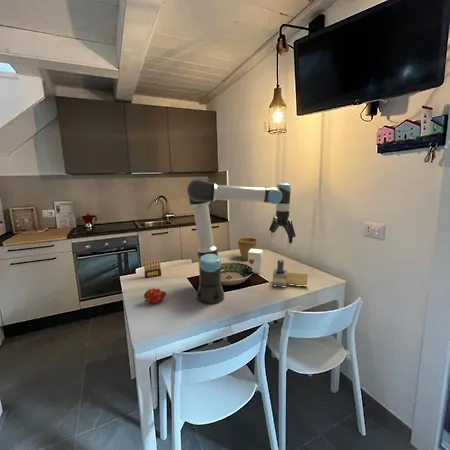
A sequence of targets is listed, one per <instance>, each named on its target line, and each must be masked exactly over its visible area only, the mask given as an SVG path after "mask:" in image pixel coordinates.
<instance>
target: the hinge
mask: <svg viewBox="0 0 450 450" xmlns="http://www.w3.org/2000/svg"><path fill="white" fill-rule="evenodd" d="M286 284H294V285H307V286H308V273H301V272H299V273H298V272H289V271H288V270H287V269H283V274H282V273H277V268H274V269H273V272H272V286H273V285H276V286H275V287H277V286H286V287H287V285H286Z"/></svg>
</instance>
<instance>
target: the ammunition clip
mask: <svg viewBox="0 0 450 450" xmlns="http://www.w3.org/2000/svg"><path fill="white" fill-rule="evenodd" d="M143 263H144V266H143V267H144V268H143V269H144V279H145V278H146V279H152V278H156V277H162V271H161V270H162V269H161V261H160V258H158V260H157V258H155V259H154V258H153V259H150V260H147V261H146V260H144V262H143Z"/></svg>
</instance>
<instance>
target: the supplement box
mask: <svg viewBox="0 0 450 450" xmlns="http://www.w3.org/2000/svg"><path fill="white" fill-rule="evenodd" d="M263 254H264V249H259V248H255V249H250V250H249V252H248V261H247V267H248V266H250V267H252V268H253V270H254V273H253V274H257V273H258V274H259V275H261V273H262V271H263V256H264V255H263Z"/></svg>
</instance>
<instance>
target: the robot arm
mask: <svg viewBox="0 0 450 450" xmlns="http://www.w3.org/2000/svg"><path fill="white" fill-rule="evenodd" d="M291 188H292V187H291V185H290V183H277V186H274V187H269V186H268V187H267V186H264V187H263V186H260V187H259V186H258V187H254V186H253V187H251V186H238V185H226V184H225V185H224V184H217V183H216V182H211V181H210V182H209V181H205V180H204V179H202V178H194V179H192V180H190V181H189V183H188V185H187V188H186V190H187V191H186V193H187V195H188V200H189V205H190V206H191V207H192V209H193V215H194V222H195V228H196V235H197V242H198V248H197V257H198V271H199V286H198V289H197V292H196V300H197V301H198V302H199V303H201V304H205V305H215V304H218V303H221V302H223V301H224V299H225V292H224V289H223V286H222V271H221V270H222V260H221V257H220V256H219V252H218V247H217V246H216V245H215V244H214V237H213V230H212V222H211V216H210V208H209V205H210V204H211V202H215V201H216V200H217V201H218V200H219V201H234V202H250V203H251V202H252V203H253V202H254V203H264V204H265V203H268V204H269V203H270V204H272V205H276V207H275V208H276V209H275V210H276V212H275V216H273V217H272V222H271V224H270V227H269V229H268V231H269V232H270V233H271V244H275V243H277V242H276V241H277V230H278V229H279V227H282V228H284V231H285V232H286V235H287V239H286V240H287V242H286V243H287V244H286V249H292V243H293V239H294V238H295V237H296V232H295V229H294V225H293V220H292V219H289V217H290V205H291V192H292V191H291Z"/></svg>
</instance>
